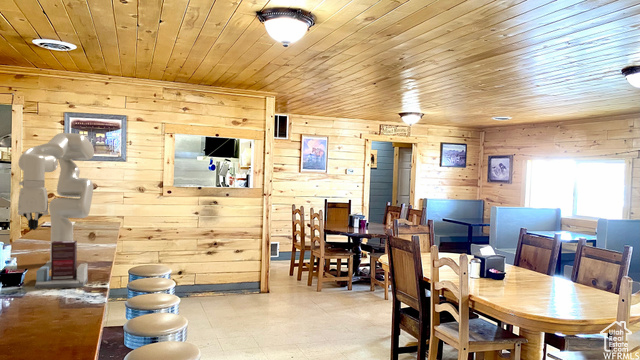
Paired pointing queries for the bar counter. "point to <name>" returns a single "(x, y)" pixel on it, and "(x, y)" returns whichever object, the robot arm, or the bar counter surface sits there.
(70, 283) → the vise bed
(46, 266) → the sliding jaw
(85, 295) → the bar counter surface
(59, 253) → the supplement box
